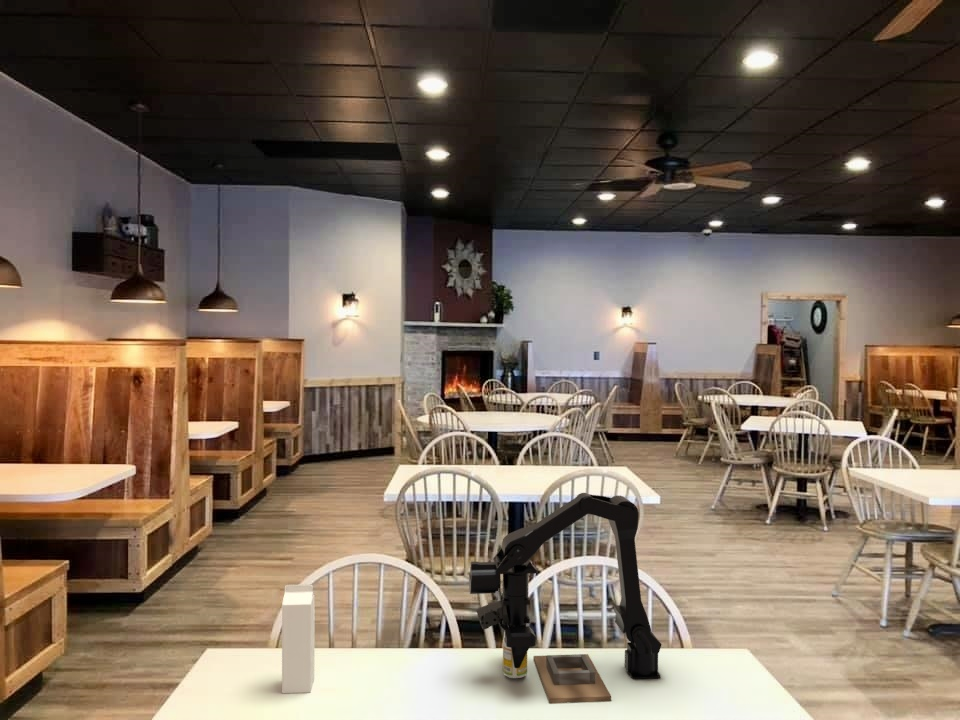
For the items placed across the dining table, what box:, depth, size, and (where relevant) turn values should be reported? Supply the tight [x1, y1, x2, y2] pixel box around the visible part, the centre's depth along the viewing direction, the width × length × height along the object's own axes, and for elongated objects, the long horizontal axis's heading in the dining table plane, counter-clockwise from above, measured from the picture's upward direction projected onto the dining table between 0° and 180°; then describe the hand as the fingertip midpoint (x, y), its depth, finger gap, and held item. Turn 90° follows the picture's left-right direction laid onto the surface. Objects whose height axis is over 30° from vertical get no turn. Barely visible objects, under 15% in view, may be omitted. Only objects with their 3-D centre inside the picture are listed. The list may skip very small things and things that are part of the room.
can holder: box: [532, 653, 612, 704], centre depth 157 cm, size 13×20×4 cm, turn 5°
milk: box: [281, 584, 316, 694], centre depth 152 cm, size 6×6×22 cm
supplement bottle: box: [502, 639, 528, 679], centre depth 157 cm, size 5×5×10 cm
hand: (515, 661), depth 158 cm, fingers closed on supplement bottle, 5 cm apart
